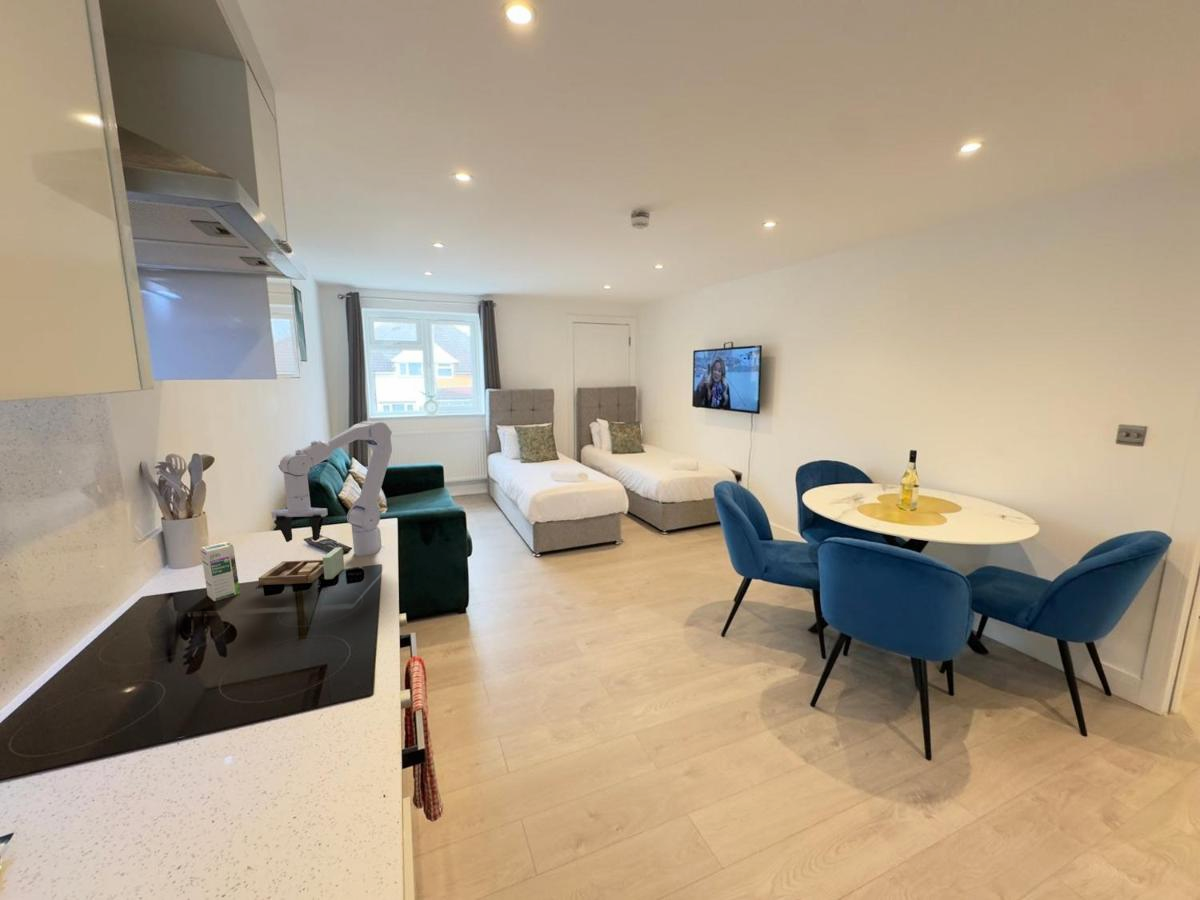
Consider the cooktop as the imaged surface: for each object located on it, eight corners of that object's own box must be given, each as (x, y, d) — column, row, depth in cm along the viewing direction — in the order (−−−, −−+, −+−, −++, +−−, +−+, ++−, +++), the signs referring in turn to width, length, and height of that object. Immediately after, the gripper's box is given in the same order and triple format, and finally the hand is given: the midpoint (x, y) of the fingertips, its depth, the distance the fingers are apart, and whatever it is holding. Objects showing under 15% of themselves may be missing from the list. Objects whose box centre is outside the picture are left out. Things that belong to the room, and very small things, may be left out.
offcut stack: (310, 569, 142) (309, 562, 141) (322, 569, 142) (322, 561, 142) (297, 579, 134) (296, 571, 134) (310, 579, 135) (309, 571, 134)
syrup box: (214, 605, 122) (206, 551, 120) (207, 598, 126) (199, 546, 123) (240, 596, 127) (233, 545, 124) (233, 590, 130) (226, 540, 128)
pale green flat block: (337, 569, 143) (335, 547, 142) (344, 569, 143) (342, 547, 142) (325, 581, 135) (322, 557, 134) (332, 580, 135) (330, 557, 134)
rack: (283, 570, 143) (282, 561, 143) (332, 568, 145) (331, 559, 144) (259, 588, 132) (258, 578, 131) (312, 585, 133) (311, 575, 132)
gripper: (263, 499, 133) (268, 546, 135) (317, 498, 134) (322, 543, 136) (277, 493, 140) (282, 537, 142) (328, 492, 141) (333, 535, 143)
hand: (302, 540), depth 140 cm, fingers open, 7 cm apart
